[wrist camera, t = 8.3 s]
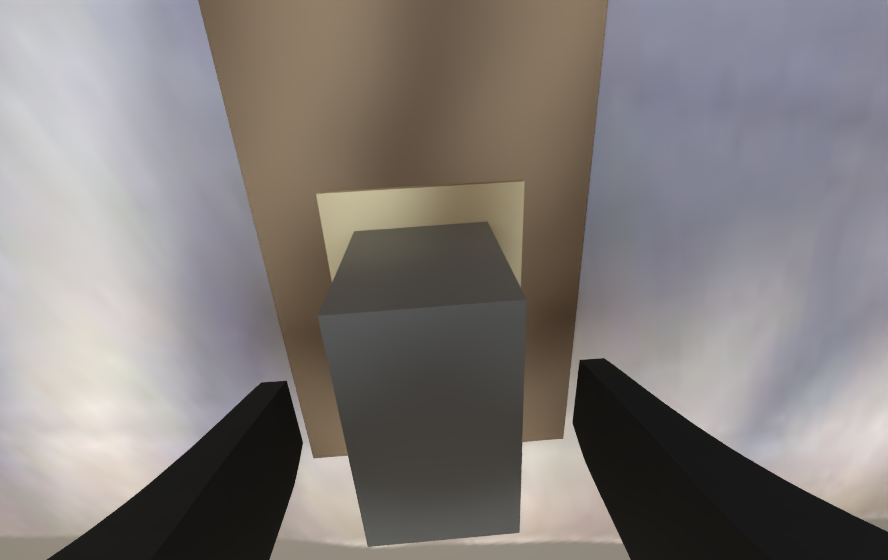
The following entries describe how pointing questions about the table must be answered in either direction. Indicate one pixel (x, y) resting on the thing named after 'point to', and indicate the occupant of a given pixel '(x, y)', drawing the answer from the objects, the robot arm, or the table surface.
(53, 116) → the table surface
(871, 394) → the table surface
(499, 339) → the block
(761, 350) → the table surface
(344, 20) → the pin board
